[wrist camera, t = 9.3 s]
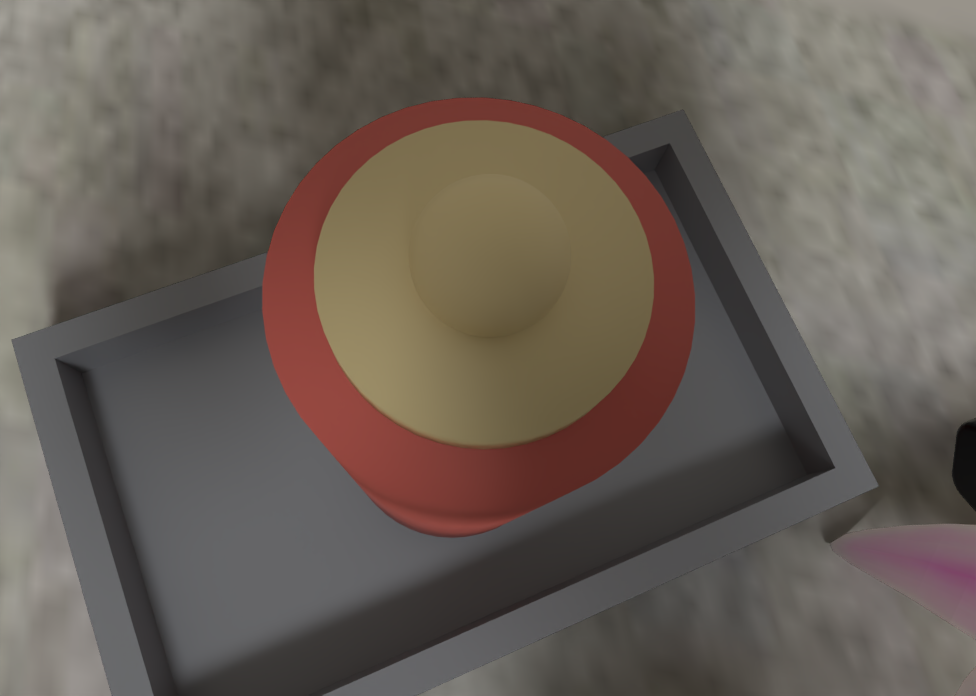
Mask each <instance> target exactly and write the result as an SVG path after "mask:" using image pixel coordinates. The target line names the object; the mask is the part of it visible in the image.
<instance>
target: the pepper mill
mask: <svg viewBox="0 0 976 696" xmlns="http://www.w3.org/2000/svg"><path fill="white" fill-rule="evenodd" d="M262 312H263V320H264V327H265V335H266V340H267V344H268V348H269V351H270V355H271V358H272V362H273V365H274V368H275V370H276V372H277V375H278V377H279V379H280V382H281V384H282V386H283V388H284V391H285V393H286V394H287V396H288V398H289V399H290V401H291V402H292V404H293V406H294V407H295V409H296V411H297V412H298V414H299V415H300V417H301V418H302V419H303V421H304V422H305V423H306V424H307V425H308V427H309V428H310V429H311V430H312V432H313V433H314V434H315V435H316V436H317V438H318V439H319V440H320V441H321V442H322V443H323V445H324V446H325V447H326V448H327V449H328V450H329V452H330V453H331V454H332V455H333V456H334V457H335V459H336V460H337V461H338V462H339V463H340V464H341V465H342V467H343V468H344V469H345V470H346V471H347V472H348V474H349V475H350V476H351V477H352V478H353V479H354V480H355V482H356V483H357V484H358V485H359V486H360V487H361V489H362V490H363V491H364V492H365V493H366V494H367V496H368V497H369V498H370V499H371V500H372V501H373V502H374V504H375V505H376V506H377V507H378V508H379V509H381V510H382V511H383V512H384V513H385V514H386V515H387V516H389V517H390V518H392V519H393V520H395V521H396V522H397V523H399V524H401V525H403V526H405V527H407V528H409V529H411V530H414V531H417V532H420V533H422V534H426V535H431V536H436V537H447V538H457V537H468V536H473V535H478V534H482V533H485V532H488V531H491V530H493V529H495V528H498V527H500V526H502V525H504V524H506V523H508V522H510V521H512V520H514V519H516V518H518V517H520V516H522V515H525V514H527V513H529V512H531V511H533V510H535V509H537V508H539V507H541V506H543V505H545V504H547V503H550V502H552V501H554V500H556V499H558V498H560V497H562V496H564V495H566V494H568V493H570V492H572V491H574V490H576V489H578V488H580V487H582V486H584V485H586V484H588V483H590V482H592V481H594V480H596V479H598V478H599V477H601V476H602V475H603V474H605V473H606V472H608V471H609V470H611V469H612V468H614V467H615V466H617V465H618V464H619V463H621V462H622V461H623V460H624V459H625V458H626V457H627V456H628V455H629V454H631V453H632V452H633V451H634V450H635V449H636V448H637V447H638V446H639V445H640V444H641V443H642V442H643V441H644V440H645V439H646V437H647V436H648V435H649V434H650V432H651V431H652V430H653V429H654V428H655V426H656V425H657V424H658V423H659V421H660V420H661V418H662V416H663V415H664V413H665V412H666V410H667V408H668V407H669V405H670V403H671V402H672V400H673V398H674V396H675V394H676V392H677V389H678V387H679V385H680V382H681V380H682V378H683V375H684V373H685V369H686V366H687V362H688V359H689V355H690V351H691V348H692V340H693V333H694V326H695V291H694V284H693V276H692V269H691V265H690V262H689V258H688V254H687V251H686V247H685V243H684V241H683V239H682V236H681V234H680V231H679V229H678V227H677V224H676V222H675V219H674V218H673V216H672V214H671V212H670V211H669V209H668V207H667V206H666V204H665V202H664V200H663V199H662V197H661V195H660V194H659V193H658V191H657V190H656V189H655V188H654V186H653V185H652V184H651V182H650V181H649V180H648V178H647V177H646V176H645V175H644V174H643V172H642V171H641V170H640V169H639V168H638V167H637V166H636V165H635V164H634V163H633V162H632V161H631V160H630V159H629V158H628V157H627V156H626V155H625V154H623V153H622V152H621V151H620V150H618V149H617V148H616V147H615V146H613V145H612V144H611V143H610V142H609V141H607V140H606V139H604V138H603V137H601V136H600V135H598V134H596V133H595V132H593V131H592V130H590V129H588V128H587V127H585V126H583V125H581V124H579V123H577V122H575V121H573V120H571V119H569V118H567V117H565V116H563V115H561V114H558V113H555V112H552V111H549V110H546V109H543V108H540V107H537V106H534V105H529V104H525V103H520V102H516V101H511V100H502V99H493V98H453V99H446V100H438V101H431V102H427V103H423V104H419V105H415V106H411V107H407V108H404V109H401V110H399V111H396V112H394V113H391V114H388V115H386V116H383V117H381V118H379V119H377V120H375V121H373V122H371V123H370V124H368V125H366V126H364V127H362V128H360V129H358V130H357V131H355V132H354V133H353V134H351V135H350V136H348V137H347V138H345V139H344V140H343V141H341V142H340V143H338V144H337V145H336V146H335V147H334V148H332V149H331V150H330V151H329V152H328V153H327V154H326V155H325V156H324V157H323V158H322V159H321V160H319V161H318V162H317V163H316V164H315V166H314V167H313V168H312V169H311V170H310V172H309V173H308V174H307V175H306V176H305V178H304V179H303V180H302V181H301V182H300V184H299V185H298V187H297V188H296V190H295V192H294V193H293V195H292V196H291V198H290V199H289V201H288V203H287V204H286V206H285V208H284V210H283V212H282V215H281V217H280V219H279V221H278V223H277V226H276V228H275V230H274V233H273V236H272V240H271V243H270V247H269V250H268V253H267V257H266V264H265V270H264V277H263V287H262Z"/></svg>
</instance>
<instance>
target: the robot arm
mask: <svg viewBox="0 0 976 696" xmlns="http://www.w3.org/2000/svg"><path fill="white" fill-rule="evenodd" d="M952 477H953V481H954V484H955V486H956V488H957V490H958V491H959V493H960V494H961V496H962V497H963V498H964V499H965V500H966V501H967V502H968V503H969V505H970V506H971V507H972V508H973V509H974V510H975V511H976V418H974V419H972V420H969V421H967V422H965V423H963V424H962V425H961V426H960V427H959V429H958V431H957V435H956V444H955V452H954V461H953V470H952Z"/></svg>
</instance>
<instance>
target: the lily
mask: <svg viewBox="0 0 976 696" xmlns="http://www.w3.org/2000/svg"><path fill="white" fill-rule="evenodd" d="M830 545H831V548H832V551H834V552H835V553H836V554H838V555H839V556H841V557H842V558H843V559H845V560H846V561H847V562H849V563H850V564H852V565H854V566H855V567H857V568H859V569H861V570H862V571H864V572H866V573H867V574H869V575H871V576H872V577H874V578H876V579H878V580H879V581H881V582H883V583H884V584H886V585H888V586H890V587H891V588H893V589H895V590H897V591H898V592H900V593H902V594H903V595H905V596H907V597H909V598H910V599H912V600H914V601H915V602H917V603H918V604H920V605H922V606H923V607H925V608H926V609H928V610H929V611H931V612H933V613H934V614H936V615H937V616H939V617H940V618H942V619H943V620H945V621H947V622H948V623H950V624H951V625H953V626H954V627H956V628H958V629H959V630H961V631H962V632H964V633H966V634H967V635H969V636H970V637H972V638H973V639H975V640H976V525H967V524H925V525H903V526H894V527H884V528H875V529H866V530H861V531H857V532H852V533H847V534H845V535H843V536H841V537H840V538H838V539H836V540H835V541H833V542H831V543H830ZM955 696H976V666H975V668H974V669H973V670H972V671H971V672H970V674H969V675H968V676H967V677H966V678H965V680H964V681H963V683H962V684H961V686H960V688H959V689H958V691H957V692H956V694H955Z"/></svg>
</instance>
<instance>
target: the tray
mask: <svg viewBox="0 0 976 696" xmlns="http://www.w3.org/2000/svg"><path fill="white" fill-rule="evenodd" d="M603 138H604V139H606V140H607V141H609V142H610V143H611V144H612V145H613V146H615V147H616V148H617V149H618V150H620V151H621V152H622V153H623V154H625V155H626V156H627V157H628V158H629V159H630V160H631V161H632V162H633V163H634V164H635V165H636V166H637V167H638V168H639V169H640V170H641V171H642V172H643V174H644V175H645V176H646V177H647V178H648V180H649V181H650V182H651V184H652V185H653V186H654V188H655V189H656V190H657V191H658V193H659V194H660V195H661V197H662V199H663V200H664V202H665V204H666V206H667V207H668V209H669V211H670V212H671V214H672V216H673V218H674V219H675V222H676V224H677V227H678V229H679V231H680V234H681V236H682V239H683V241H684V243H685V247H686V251H687V254H688V258H689V262H690V265H691V269H692V276H693V284H694V291H695V326H694V333H693V340H692V348H691V351H690V355H689V359H688V362H687V366H686V369H685V373H684V375H683V378H682V380H681V382H680V385H679V387H678V389H677V392H676V394H675V396H674V398H673V400H672V402H671V403H670V405H669V407H668V408H667V410H666V412H665V413H664V415H663V416H662V418H661V420H660V421H659V423H658V424H657V425H656V426H655V428H654V429H653V430H652V431H651V432H650V434H649V435H648V436H647V437H646V439H645V440H644V441H643V442H642V443H641V444H640V445H639V446H638V447H637V448H636V449H635V450H634V451H633V452H632V453H631V454H629V455H628V456H627V457H626V458H625V459H624V460H623V461H622V462H621V463H619V464H618V465H617V466H615V467H614V468H612V469H611V470H609V471H608V472H606V473H605V474H603V475H602V476H601V477H599V478H598V479H596V480H594V481H592V482H590V483H588V484H586V485H584V486H582V487H580V488H578V489H576V490H574V491H572V492H570V493H568V494H566V495H564V496H562V497H560V498H558V499H556V500H554V501H552V502H550V503H547V504H545V505H543V506H541V507H539V508H537V509H535V510H533V511H531V512H529V513H527V514H525V515H522V516H520V517H518V518H516V519H514V520H512V521H510V522H508V523H506V524H504V525H502V526H500V527H498V528H495V529H493V530H491V531H488V532H485V533H482V534H478V535H473V536H468V537H457V538H447V537H436V536H431V535H426V534H422V533H420V532H417V531H414V530H411V529H409V528H407V527H405V526H403V525H401V524H399V523H397V522H396V521H395V520H393V519H392V518H390V517H389V516H387V515H386V514H385V513H384V512H383V511H382V510H381V509H379V508H378V507H377V506H376V505H375V504H374V502H373V501H372V500H371V499H370V498H369V497H368V496H367V494H366V493H365V492H364V491H363V490H362V489H361V487H360V486H359V485H358V484H357V483H356V482H355V480H354V479H353V478H352V477H351V476H350V475H349V474H348V472H347V471H346V470H345V469H344V468H343V467H342V465H341V464H340V463H339V462H338V461H337V460H336V459H335V457H334V456H333V455H332V454H331V453H330V452H329V450H328V449H327V448H326V447H325V446H324V445H323V443H322V442H321V441H320V440H319V439H318V438H317V436H316V435H315V434H314V433H313V432H312V430H311V429H310V428H309V427H308V425H307V424H306V423H305V422H304V421H303V419H302V418H301V417H300V415H299V414H298V412H297V411H296V409H295V407H294V406H293V404H292V402H291V401H290V399H289V398H288V396H287V394H286V393H285V391H284V388H283V386H282V384H281V382H280V379H279V377H278V375H277V372H276V370H275V368H274V365H273V362H272V358H271V355H270V351H269V348H268V344H267V340H266V335H265V327H264V320H263V312H262V287H263V277H264V270H265V264H266V257H267V253H268V252H266V253H263V254H260V255H257V256H254V257H251V258H248V259H245V260H243V261H240V262H237V263H234V264H231V265H228V266H225V267H222V268H219V269H216V270H213V271H210V272H208V273H205V274H202V275H199V276H196V277H193V278H190V279H187V280H184V281H181V282H178V283H175V284H173V285H170V286H167V287H164V288H161V289H158V290H155V291H152V292H149V293H146V294H143V295H140V296H138V297H135V298H132V299H129V300H126V301H123V302H120V303H117V304H114V305H111V306H108V307H105V308H103V309H100V310H97V311H94V312H91V313H88V314H85V315H82V316H79V317H76V318H73V319H71V320H68V321H65V322H62V323H59V324H56V325H53V326H50V327H47V328H44V329H41V330H38V331H36V332H33V333H30V334H27V335H24V336H21V337H18V338H15V339H12V344H13V347H14V351H15V355H16V358H17V362H18V365H19V369H20V372H21V376H22V379H23V383H24V386H25V390H26V393H27V397H28V401H29V404H30V408H31V411H32V415H33V418H34V422H35V425H36V429H37V432H38V436H39V440H40V443H41V447H42V450H43V454H44V457H45V461H46V464H47V468H48V471H49V475H50V478H51V482H52V486H53V489H54V493H55V496H56V500H57V503H58V507H59V510H60V514H61V517H62V521H63V524H64V528H65V532H66V535H67V539H68V542H69V546H70V549H71V553H72V556H73V560H74V563H75V567H76V571H77V574H78V578H79V581H80V585H81V588H82V592H83V595H84V599H85V602H86V606H87V609H88V613H89V617H90V620H91V624H92V627H93V631H94V634H95V638H96V641H97V645H98V648H99V652H100V656H101V659H102V663H103V666H104V670H105V673H106V677H107V680H108V684H109V687H110V691H111V694H112V696H416V695H419V694H421V693H423V692H425V691H427V690H430V689H432V688H434V687H436V686H439V685H441V684H443V683H445V682H447V681H450V680H452V679H454V678H456V677H458V676H461V675H463V674H465V673H467V672H469V671H472V670H474V669H476V668H478V667H481V666H483V665H485V664H487V663H489V662H492V661H494V660H496V659H498V658H500V657H503V656H505V655H507V654H509V653H511V652H514V651H516V650H518V649H520V648H523V647H525V646H527V645H529V644H531V643H534V642H536V641H538V640H540V639H542V638H545V637H547V636H549V635H551V634H553V633H556V632H558V631H560V630H562V629H565V628H567V627H569V626H571V625H573V624H576V623H578V622H580V621H582V620H584V619H587V618H589V617H591V616H593V615H595V614H598V613H600V612H602V611H604V610H607V609H609V608H611V607H613V606H615V605H618V604H620V603H622V602H624V601H626V600H629V599H631V598H633V597H635V596H637V595H640V594H642V593H644V592H646V591H649V590H651V589H653V588H655V587H657V586H660V585H662V584H664V583H666V582H668V581H671V580H673V579H675V578H677V577H679V576H682V575H684V574H686V573H688V572H691V571H693V570H695V569H697V568H699V567H702V566H704V565H706V564H708V563H710V562H713V561H715V560H717V559H719V558H721V557H724V556H726V555H728V554H730V553H733V552H735V551H737V550H739V549H741V548H744V547H746V546H748V545H750V544H752V543H755V542H757V541H759V540H761V539H763V538H766V537H768V536H770V535H772V534H775V533H777V532H779V531H781V530H783V529H786V528H788V527H790V526H792V525H794V524H797V523H799V522H801V521H803V520H805V519H808V518H810V517H812V516H814V515H817V514H819V513H821V512H823V511H825V510H828V509H830V508H832V507H834V506H836V505H839V504H841V503H843V502H845V501H847V500H850V499H852V498H854V497H856V496H859V495H861V494H863V493H865V492H867V491H870V490H872V489H874V488H876V487H878V486H879V485H878V483H877V481H876V479H875V477H874V475H873V474H872V472H871V470H870V468H869V466H868V464H867V462H866V460H865V458H864V456H863V454H862V452H861V450H860V449H859V447H858V445H857V443H856V441H855V439H854V437H853V435H852V433H851V431H850V429H849V427H848V425H847V424H846V422H845V420H844V418H843V416H842V414H841V412H840V410H839V408H838V406H837V404H836V402H835V400H834V398H833V397H832V395H831V393H830V391H829V389H828V387H827V385H826V383H825V381H824V379H823V377H822V375H821V373H820V372H819V370H818V368H817V366H816V364H815V362H814V360H813V358H812V356H811V354H810V352H809V350H808V348H807V347H806V345H805V343H804V341H803V339H802V337H801V335H800V333H799V331H798V329H797V327H796V325H795V323H794V322H793V320H792V318H791V316H790V314H789V312H788V310H787V308H786V306H785V304H784V302H783V300H782V298H781V297H780V295H779V293H778V291H777V289H776V287H775V285H774V283H773V281H772V279H771V277H770V275H769V273H768V271H767V270H766V268H765V266H764V264H763V262H762V260H761V258H760V256H759V254H758V252H757V250H756V248H755V246H754V245H753V243H752V241H751V239H750V237H749V235H748V233H747V231H746V229H745V227H744V225H743V223H742V221H741V220H740V218H739V216H738V214H737V212H736V210H735V208H734V206H733V204H732V202H731V200H730V198H729V196H728V195H727V193H726V191H725V189H724V187H723V185H722V183H721V181H720V179H719V177H718V175H717V173H716V171H715V170H714V168H713V166H712V164H711V162H710V160H709V158H708V156H707V154H706V152H705V150H704V148H703V146H702V144H701V143H700V141H699V139H698V137H697V135H696V133H695V131H694V129H693V127H692V125H691V123H690V121H689V119H688V118H687V116H686V114H685V112H684V110H680V111H677V112H674V113H671V114H668V115H665V116H662V117H659V118H656V119H654V120H651V121H648V122H645V123H642V124H639V125H636V126H633V127H630V128H627V129H624V130H622V131H619V132H616V133H613V134H610V135H607V136H604V137H603Z"/></svg>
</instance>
